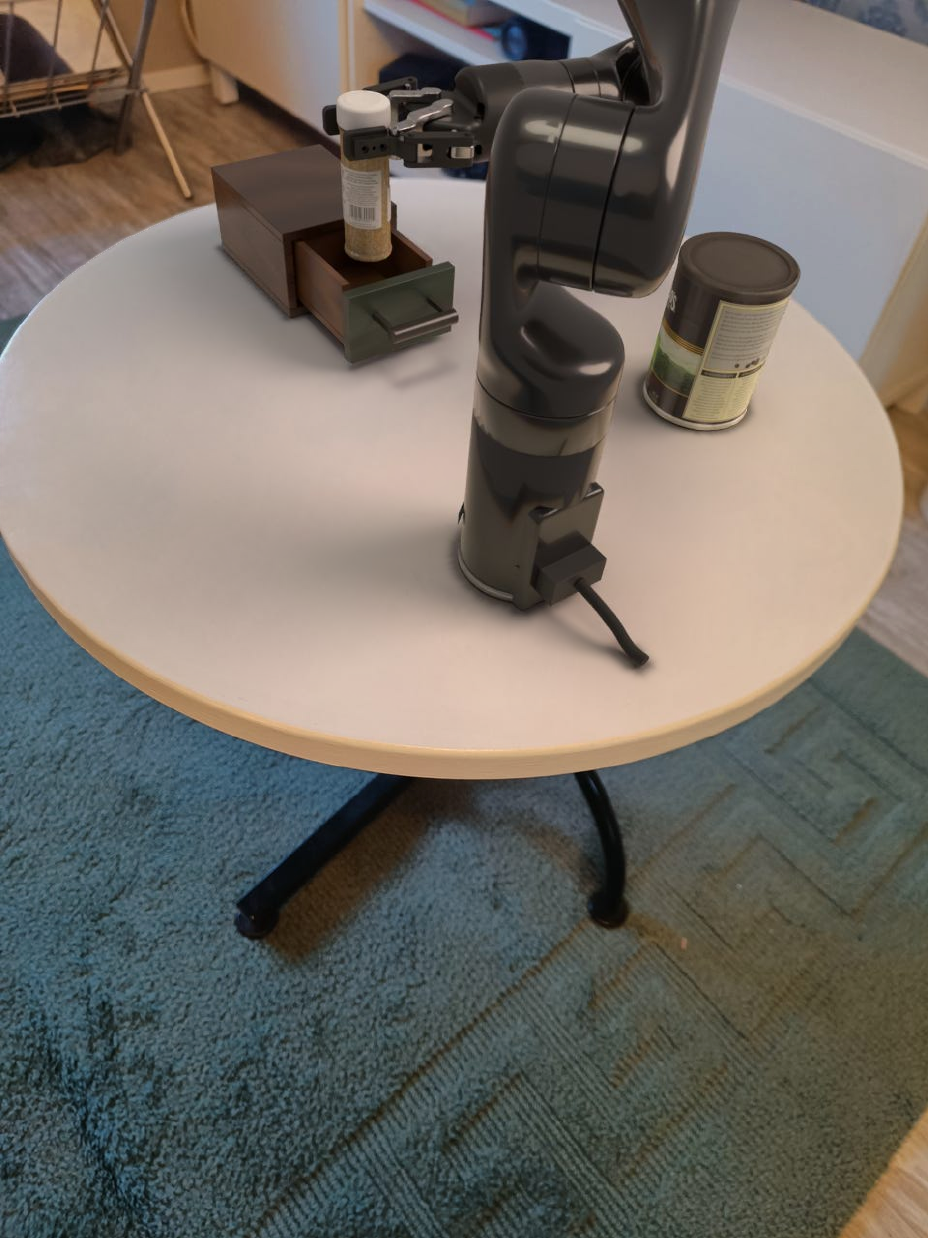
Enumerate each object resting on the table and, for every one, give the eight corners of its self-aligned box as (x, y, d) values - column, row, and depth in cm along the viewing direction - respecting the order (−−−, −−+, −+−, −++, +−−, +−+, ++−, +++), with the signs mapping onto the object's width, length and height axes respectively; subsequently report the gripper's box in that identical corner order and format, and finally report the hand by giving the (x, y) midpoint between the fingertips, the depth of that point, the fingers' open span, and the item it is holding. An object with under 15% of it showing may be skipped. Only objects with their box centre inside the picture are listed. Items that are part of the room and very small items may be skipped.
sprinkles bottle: (400, 248, 84) (400, 95, 73) (376, 269, 81) (372, 113, 71) (359, 235, 85) (354, 83, 74) (334, 255, 82) (325, 100, 72)
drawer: (475, 352, 85) (481, 287, 80) (374, 387, 80) (373, 321, 75) (375, 265, 94) (374, 201, 89) (279, 292, 90) (272, 226, 84)
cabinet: (396, 286, 94) (397, 204, 87) (290, 318, 88) (282, 233, 82) (324, 222, 101) (319, 143, 95) (222, 248, 96) (210, 166, 89)
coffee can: (627, 409, 82) (664, 269, 72) (660, 355, 89) (698, 219, 78) (732, 445, 80) (786, 305, 69) (759, 387, 86) (812, 251, 75)
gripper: (481, 35, 80) (303, 53, 75) (555, 95, 72) (362, 119, 67) (475, 122, 86) (310, 144, 80) (543, 187, 78) (365, 216, 73)
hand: (334, 133), depth 74 cm, fingers closed on sprinkles bottle, 4 cm apart
